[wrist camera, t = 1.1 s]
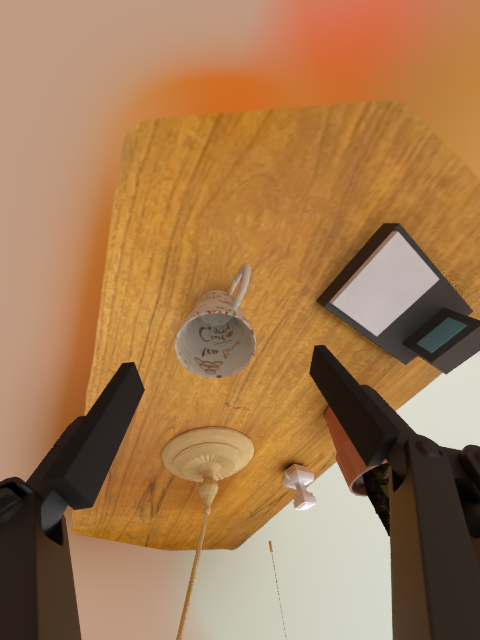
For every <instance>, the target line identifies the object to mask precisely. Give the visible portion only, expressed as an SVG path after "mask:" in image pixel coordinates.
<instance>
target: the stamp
mask: <svg viewBox="0 0 480 640" xmlns="http://www.w3.org/2000/svg"><path fill="white" fill-rule="evenodd" d="M313 480H314V474H313V473H312V472H311V471H310V470H308V469H307V468H306V467H305V466H301V465H297V464H293V465H292V466H290V467H289V468H288V469H286V470H285V471H284V474H283V477H282V480H281V482H282V484H283V486H285V487H288V488H293V489H296V490H297V495H296V496H295V497H294V502H293V503H294V507H295V509H301V510H307V509H309V508H310V507H312V506H313V505H314V504H316V503H317V502H316V498H315V496H313V494H312V493H310V492H307V491H306V488H305V486H306V485H308V484H309V483H311V482H312V481H313Z"/></svg>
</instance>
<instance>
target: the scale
mask: <svg viewBox="0 0 480 640" xmlns="http://www.w3.org/2000/svg"><path fill="white" fill-rule="evenodd" d="M317 302H318V303H320V304H321V305H322V306H323V307H325V308H326V309H328V310H329V311H330V312H332V313H333V314H335V315H336V316H337V317H339V318H340V319H342V320H343V321H344V322H346V323H347V324H349V325H350V326H352V327H353V328H354V329H356V330H357V331H359V332H360V333H361V334H363V335H364V336H366V337H367V338H368V339H370V340H371V341H373V342H374V343H375V344H377V345H378V346H380V347H381V348H383V349H384V350H385V351H387V352H388V353H390V354H391V355H392V356H394V357H395V358H397V359H398V360H399V361H401V362H402V363H404V364H405V365H407V364H408V363H409V362H410V361H412V360H413V359H414V358H415V357H417V356H419V357H420V358H422V359H423V360H425V361H426V362H428V363H429V364H431V365H432V366H434V367H435V368H437V369H438V370H440V371H442V372H443V373H445V374H448V373H449V372H450V371H452V370H453V369H454V368H456V367H457V366H459V365H460V364H462V363H463V362H464V361H466V360H467V359H469V358H470V357H471V356H473V355H474V354H476V353H477V352H478V351H480V320H477V319H474V318H471V317H469V316H468V315H469V314H471V313H472V312H473V310H472V309H471V308H470V307H469V306H468V304H467V303H466V302H465V301H464V300H463V298H462V297H461V296H460V295H459V294H458V293H457V291H456V290H455V289H454V288H453V287H452V285H451V284H450V283H449V282H448V281H447V279H446V278H445V277H444V276H443V275H442V274H441V272H440V271H439V270H438V269H437V268H436V266H435V265H434V264H433V263H432V262H431V260H430V259H429V258H428V257H427V256H426V255H425V253H424V252H423V251H422V250H421V249H420V247H419V246H418V245H417V244H416V243H415V242H414V240H413V239H412V238H411V237H410V236H409V234H408V233H407V232H406V231H405V230H404V228H403V227H402V226H401V225H400V224H399V223H384V224H383V225H382V226H381V227H380V228H379V230H378V231H377V232H376V233H375V234H374V235H373V236H372V238H371V239H370V240H369V241H368V242H367V243H366V245H365V246H364V247H363V248H362V249H361V250H360V251H359V253H358V254H357V255H356V256H355V257H354V258H353V259H352V261H351V262H350V263H349V264H348V265H347V266H346V268H345V269H344V270H343V271H342V272H341V273H340V274H339V276H338V277H337V278H336V279H335V280H334V281H333V282H332V284H331V285H330V286H329V287H328V288H327V289H326V291H325V292H324V293H323V294H322V295H321V296H320V297H319V299H318V300H317Z"/></svg>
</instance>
